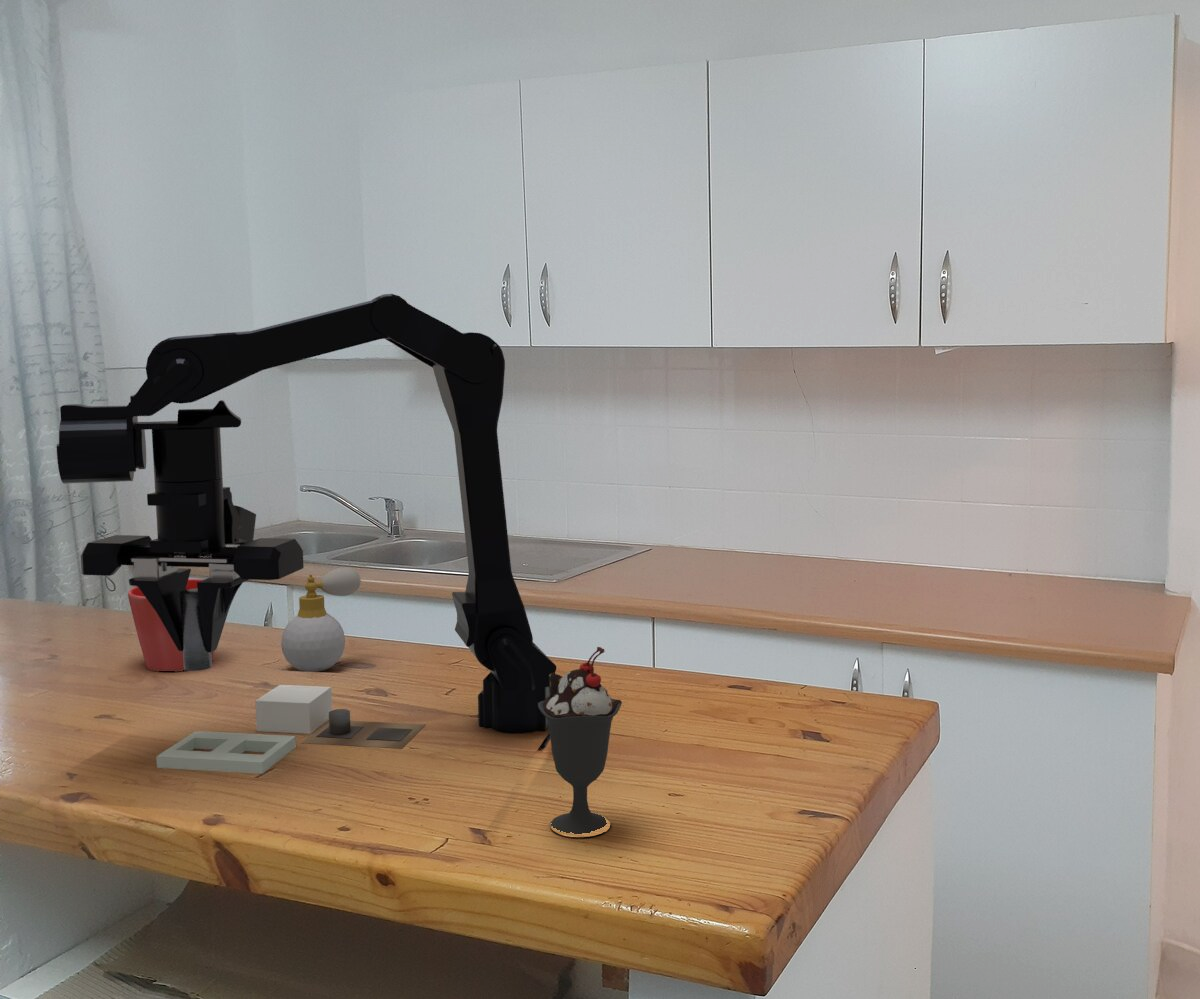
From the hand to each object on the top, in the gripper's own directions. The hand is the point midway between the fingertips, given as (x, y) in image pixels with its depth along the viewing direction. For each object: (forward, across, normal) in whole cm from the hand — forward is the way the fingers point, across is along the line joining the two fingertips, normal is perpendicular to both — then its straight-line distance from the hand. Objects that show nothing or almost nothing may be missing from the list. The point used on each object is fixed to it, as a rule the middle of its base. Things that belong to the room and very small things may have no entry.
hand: (197, 650), depth 105 cm
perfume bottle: (+12, +4, -35) cm, 37 cm away
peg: (+2, 0, 0) cm, 2 cm away
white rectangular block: (+11, -4, -10) cm, 16 cm away
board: (+11, -12, -8) cm, 19 cm away
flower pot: (+12, +22, -34) cm, 42 cm away
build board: (+11, -2, 0) cm, 12 cm away
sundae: (+12, -36, +7) cm, 39 cm away
